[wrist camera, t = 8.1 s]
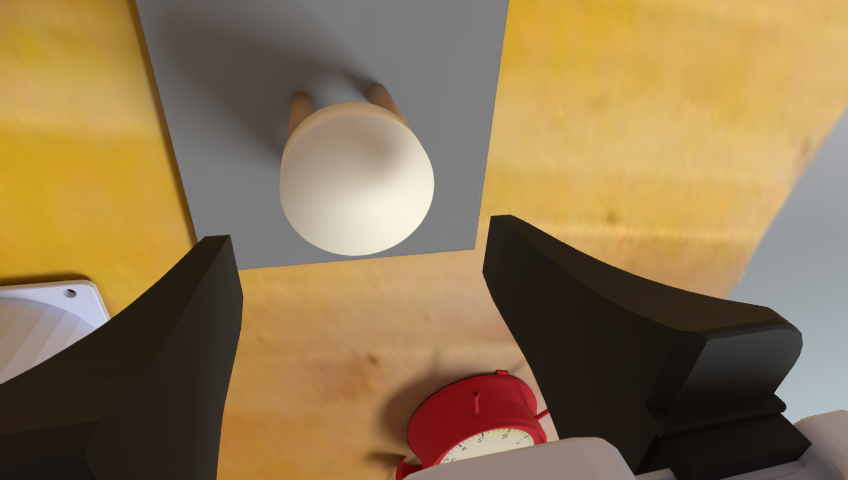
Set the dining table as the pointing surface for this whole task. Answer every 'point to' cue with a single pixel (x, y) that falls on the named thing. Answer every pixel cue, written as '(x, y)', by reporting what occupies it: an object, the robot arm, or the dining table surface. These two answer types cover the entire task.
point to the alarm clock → (473, 421)
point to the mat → (321, 104)
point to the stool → (354, 174)
